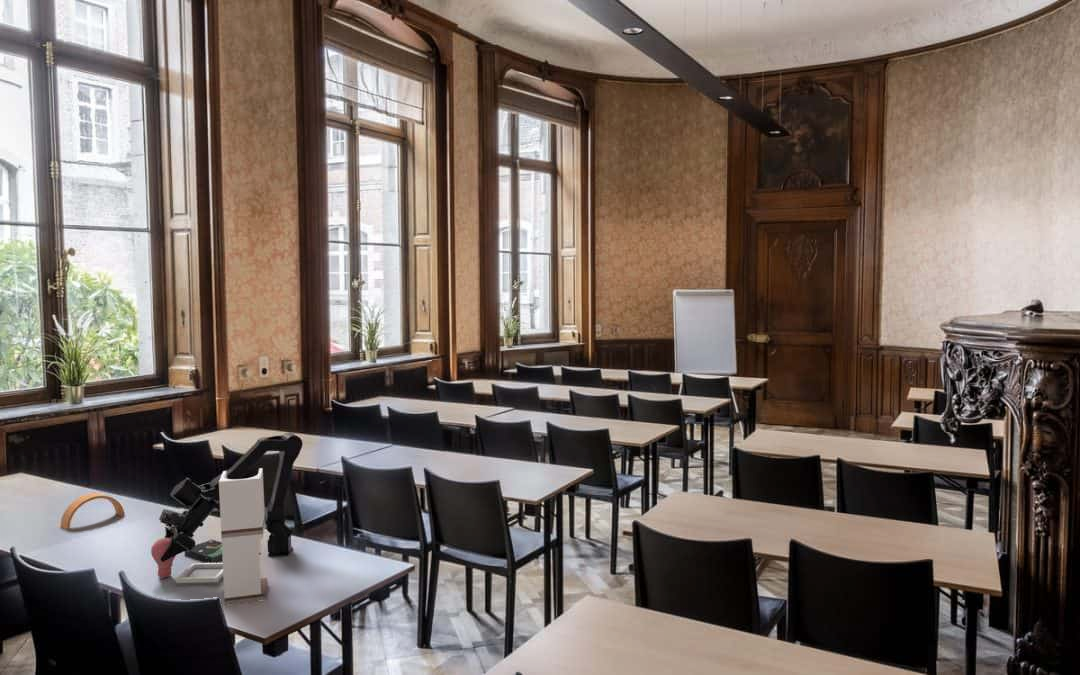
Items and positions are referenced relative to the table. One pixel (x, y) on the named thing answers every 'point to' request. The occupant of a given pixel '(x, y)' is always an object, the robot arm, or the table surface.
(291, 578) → the table surface
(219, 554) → the disk drive
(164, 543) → the light bulb
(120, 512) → the arch
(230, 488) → the tall white pillar
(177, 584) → the white square frame
